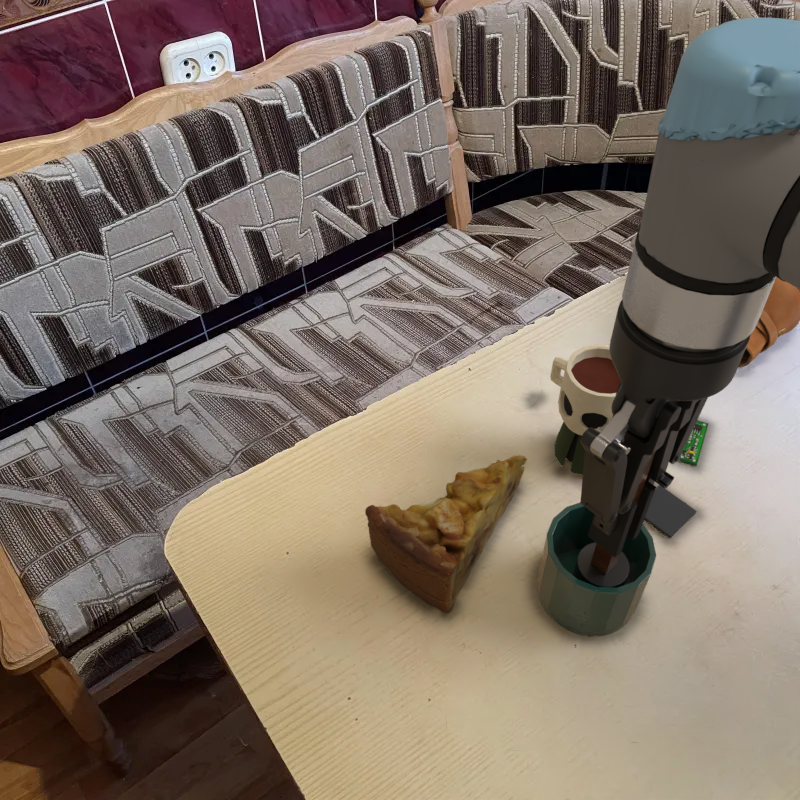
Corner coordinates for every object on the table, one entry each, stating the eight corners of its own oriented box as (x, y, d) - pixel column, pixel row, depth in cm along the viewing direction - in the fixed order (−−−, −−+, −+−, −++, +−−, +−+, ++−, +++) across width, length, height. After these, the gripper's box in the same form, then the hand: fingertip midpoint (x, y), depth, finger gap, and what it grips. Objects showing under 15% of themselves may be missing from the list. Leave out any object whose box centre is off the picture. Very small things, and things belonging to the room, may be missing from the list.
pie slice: (439, 627, 68) (440, 582, 62) (363, 557, 73) (357, 510, 67) (562, 508, 76) (573, 459, 71) (486, 453, 81) (490, 403, 76)
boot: (644, 227, 107) (568, 299, 99) (665, 173, 100) (585, 246, 91) (805, 317, 98) (737, 403, 90) (842, 265, 91) (771, 354, 82)
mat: (695, 513, 76) (696, 510, 75) (669, 538, 74) (670, 536, 73) (658, 486, 78) (659, 484, 78) (632, 511, 76) (633, 508, 76)
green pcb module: (697, 462, 79) (678, 456, 80) (696, 466, 80) (677, 460, 80) (709, 421, 83) (690, 416, 84) (707, 425, 83) (689, 419, 84)
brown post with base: (629, 593, 68) (691, 435, 52) (598, 625, 66) (653, 470, 50) (590, 562, 70) (638, 401, 54) (559, 591, 68) (599, 433, 52)
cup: (656, 593, 70) (677, 547, 64) (594, 657, 66) (610, 613, 60) (579, 532, 74) (592, 484, 69) (517, 588, 71) (525, 541, 65)
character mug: (521, 447, 82) (534, 361, 72) (561, 411, 85) (578, 324, 76) (607, 504, 76) (632, 420, 67) (645, 464, 80) (675, 377, 70)
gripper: (700, 234, 49) (630, 460, 66) (552, 339, 43) (517, 559, 60) (810, 286, 45) (705, 512, 62) (666, 411, 39) (593, 624, 56)
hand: (613, 535), depth 61 cm, fingers closed on brown post with base, 2 cm apart
